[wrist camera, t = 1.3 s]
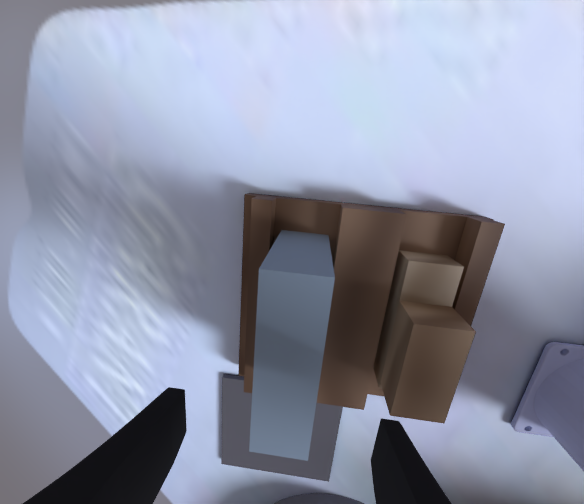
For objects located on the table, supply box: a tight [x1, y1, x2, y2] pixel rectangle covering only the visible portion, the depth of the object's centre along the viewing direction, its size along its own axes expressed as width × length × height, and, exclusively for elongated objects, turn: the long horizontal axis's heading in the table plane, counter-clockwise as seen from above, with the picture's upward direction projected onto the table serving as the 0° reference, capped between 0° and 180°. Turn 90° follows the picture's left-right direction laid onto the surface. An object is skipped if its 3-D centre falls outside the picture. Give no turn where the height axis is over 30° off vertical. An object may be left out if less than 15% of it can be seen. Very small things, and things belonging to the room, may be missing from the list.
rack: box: [239, 193, 505, 410], centre depth 18 cm, size 15×14×2 cm
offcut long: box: [373, 250, 464, 389], centre depth 17 cm, size 3×9×2 cm, turn 175°
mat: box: [222, 374, 343, 481], centre depth 23 cm, size 10×10×1 cm
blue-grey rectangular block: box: [249, 230, 335, 461], centre depth 15 cm, size 3×10×7 cm, turn 175°
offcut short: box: [381, 301, 476, 423], centre depth 15 cm, size 3×6×2 cm, turn 175°
